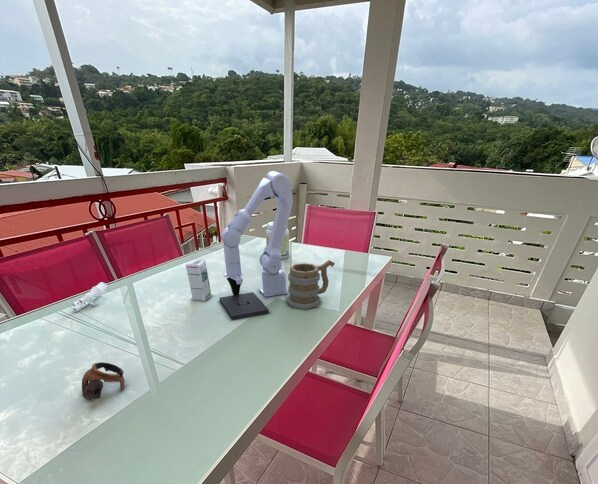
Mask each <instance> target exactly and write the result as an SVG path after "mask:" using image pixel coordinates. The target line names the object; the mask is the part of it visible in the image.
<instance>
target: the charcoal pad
mask: <svg viewBox="0 0 598 484" xmlns="http://www.w3.org/2000/svg"><path fill="white" fill-rule="evenodd" d="M224 310H225V311H226V313H227V315H228V316H229V318H230V319H231V320H232V321H235V320H239V319H245V318H250V317H256V316H261V315H266V314H267V315H268V314H269V309H268V307H267V306H266V305H265V304H264V302H263V301H262V300H261V299H260V298H259V300H253V301H248V304H247V305H241V306H238V305H237V303H236V304H230V305H225V308H224Z"/></svg>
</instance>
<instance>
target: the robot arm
mask: <svg viewBox="0 0 598 484" xmlns="http://www.w3.org/2000/svg"><path fill="white" fill-rule="evenodd" d="M271 197H274V198H275V200H276V202H277V206H276V211H275V214H274V218H273V221H272V222H273V226H272V230H271V234H270V238H269V242H268V245H266V246H265V248H264V250H263V253H262V254H261V255H260V256H259V263H260V264H259V265H261V267H262V268H261V282H262V288H260V289H259V292H261V293H262V295H264V297H265V298H269V297H275V296H280V295H285V294H288V293H287V278H286V277H287V276H286V273H285V271H284V270H283V269H282V259H281V258H282V256H281V246H282V242H283V239H284V235H285V231H286V227H287V226H288V223H289V220H290V216H291V213H292V209H293V205H294V198H293V192H292V183H291V180H289V178H288V176H287V175H286V174H284V173H282V172H281V173H280V172H277V171H274V170H270V171H268V172H267V173H266V174H265V176H264V177H263V179H261V181H260V182H259V184H258V186H257V188H256V189H255V191H254V193H253V194H252V195H251V197H250V199H249V200H248V202H247V203H246V205H245V207H243V209H238V210H237V211H235V212H234V213H233V218H232V219H231V221H230V222H229V224H228V223H227V224H226V225H225V227H226V228H223V230H222V231H221V232H220V233H221V235H220V239H221V241H222V242H223V243H222V244H223V255H224V263H225V264H224V265H225V273H223V277H225V278H226V280H227V282H228V284H229V286H230V289H231V293H232V295H238V294H240V292H241V286H242V284H243V278H242V277H243V272H242V265H241V254H240V253H241V252H240V246H239V244H240V243H241V237H242V236H243V234H244V233H245V232H246V230H247V229H248V227H249V226H250V225H251V223H252V222H253V220H252V215H253V214H254V213H255V212H256V211H257V210H258V208H259V207H260V206H261V205H262V203H263V202H264V201H265V199H267V198H271ZM287 228H288V227H287Z"/></svg>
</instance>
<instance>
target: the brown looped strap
mask: <svg viewBox="0 0 598 484" xmlns="http://www.w3.org/2000/svg"><path fill="white" fill-rule="evenodd" d="M102 368H103V369H104V370H105V372H103V371H101V370H100V369H102ZM108 372H113V373H108ZM114 373H115V374H114ZM124 374H125V373H124V370H123V369H122V368H121V367H120V366H117V365H115V364H112V363H110V362H105V361H102V362H99V361H98V362H94V363H93V364H92V365H91V368H89V369H87V370H86V372H84V374H83V375H82V379H81V391H82V392H81V394H82V396H83V398H85V399H86V400H88V401H90V400H91V399H93V400H97V399H101V398H102V391H103V388H104V384H103V382H104V383H119V384H120V385H119V388H120V390H124V388H125V383H126V380H125V377H124Z"/></svg>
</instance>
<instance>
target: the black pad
mask: <svg viewBox="0 0 598 484" xmlns="http://www.w3.org/2000/svg"><path fill="white" fill-rule="evenodd" d="M259 299H260V298H259V297H258V296H257V294H255V293H254V292H253V291H252V292H251V291H250V292H244V293H239V294H238V295H233V294H232V295H227V296H222V297H219V302H220V304H221V305H222V307H223V309H225V305H230V304H236V303H237V305H238V306H241V305H247V304H248V301H253V300H259Z"/></svg>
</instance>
